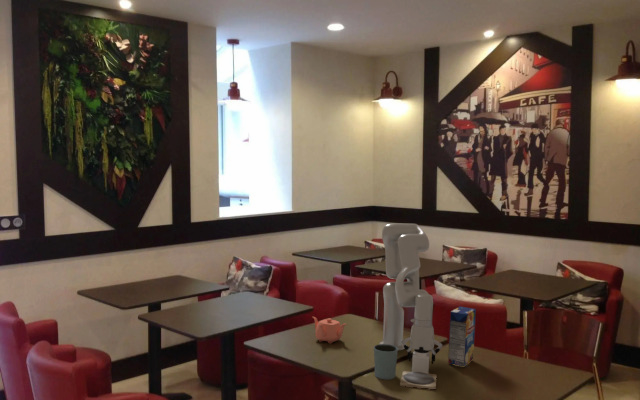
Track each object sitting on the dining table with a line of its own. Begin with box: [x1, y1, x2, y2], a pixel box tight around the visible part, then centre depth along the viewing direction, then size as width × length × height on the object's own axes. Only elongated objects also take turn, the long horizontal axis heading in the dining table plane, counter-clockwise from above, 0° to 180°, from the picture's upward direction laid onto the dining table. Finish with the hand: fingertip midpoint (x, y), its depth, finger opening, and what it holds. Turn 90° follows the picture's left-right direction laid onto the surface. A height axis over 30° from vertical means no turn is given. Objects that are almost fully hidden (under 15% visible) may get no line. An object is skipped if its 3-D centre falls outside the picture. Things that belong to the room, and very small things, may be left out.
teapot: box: [312, 316, 347, 344], centre depth 290 cm, size 14×14×11 cm
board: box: [399, 370, 438, 390], centre depth 241 cm, size 14×14×2 cm
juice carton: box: [447, 306, 477, 366], centre depth 264 cm, size 12×8×24 cm, turn 147°
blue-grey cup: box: [373, 343, 399, 381], centre depth 246 cm, size 10×10×12 cm
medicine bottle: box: [411, 347, 431, 374], centre depth 253 cm, size 7×7×12 cm
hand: (421, 361), depth 253 cm, fingers open, 9 cm apart
